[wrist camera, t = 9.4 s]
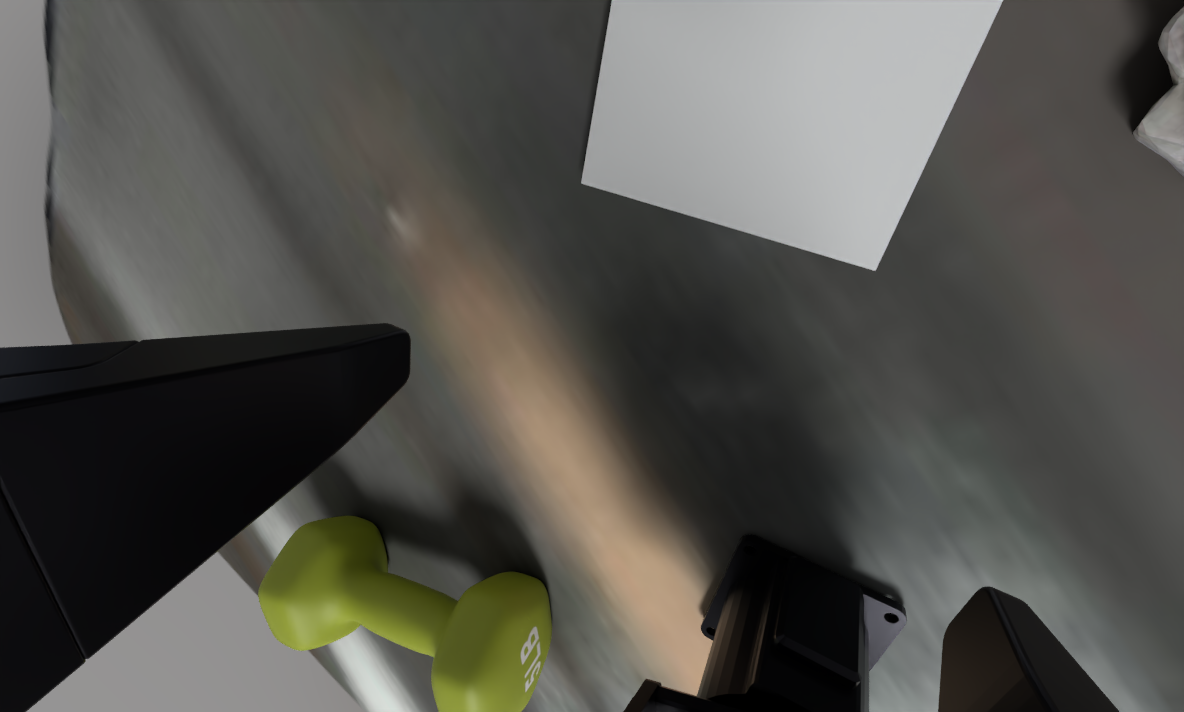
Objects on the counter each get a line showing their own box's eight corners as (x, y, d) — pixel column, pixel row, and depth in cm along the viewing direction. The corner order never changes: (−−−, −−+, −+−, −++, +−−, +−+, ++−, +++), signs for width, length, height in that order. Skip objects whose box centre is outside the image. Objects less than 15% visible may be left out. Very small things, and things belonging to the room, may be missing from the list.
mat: (874, 265, 17) (875, 270, 16) (588, 181, 19) (580, 183, 19) (1077, -165, 12) (1086, -178, 11) (653, -191, 15) (645, -201, 14)
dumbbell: (558, 556, 28) (476, 673, 23) (567, 659, 32) (498, 786, 26) (338, 484, 35) (230, 560, 29) (364, 575, 38) (272, 660, 32)
